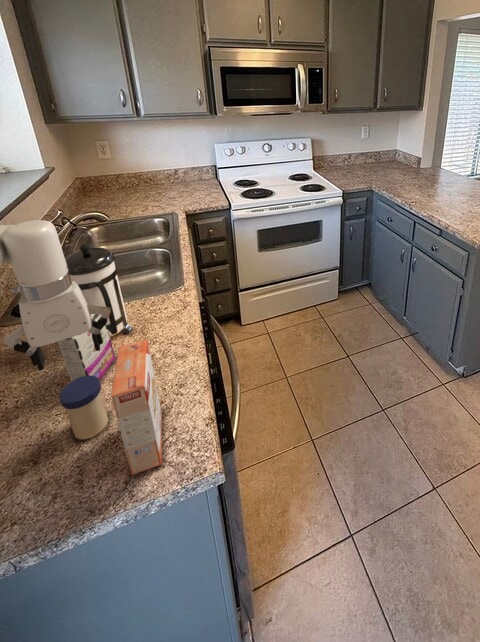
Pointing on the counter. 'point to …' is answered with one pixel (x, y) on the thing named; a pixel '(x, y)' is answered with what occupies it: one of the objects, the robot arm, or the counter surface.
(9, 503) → the counter surface
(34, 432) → the counter surface
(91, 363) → the candy bar box
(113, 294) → the coffee press
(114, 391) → the cracker box
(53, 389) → the counter surface
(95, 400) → the jar
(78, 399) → the jar lid
